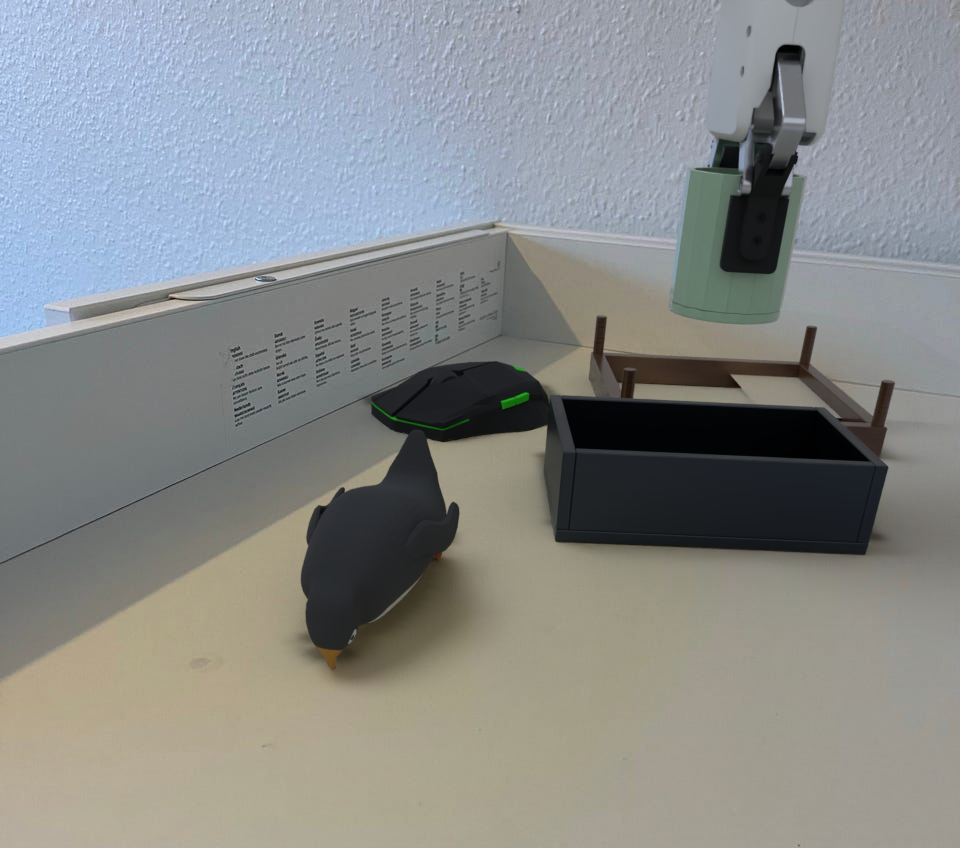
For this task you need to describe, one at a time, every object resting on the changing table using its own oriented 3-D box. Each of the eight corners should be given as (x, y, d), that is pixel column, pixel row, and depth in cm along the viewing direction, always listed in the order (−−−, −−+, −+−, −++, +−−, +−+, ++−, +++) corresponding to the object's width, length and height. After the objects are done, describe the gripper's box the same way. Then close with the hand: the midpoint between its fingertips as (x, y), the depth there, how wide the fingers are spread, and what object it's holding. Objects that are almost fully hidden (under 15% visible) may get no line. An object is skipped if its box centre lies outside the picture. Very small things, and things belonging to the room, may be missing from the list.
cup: (763, 305, 65) (788, 171, 61) (792, 327, 59) (821, 179, 55) (660, 299, 65) (678, 165, 61) (678, 321, 59) (700, 173, 55)
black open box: (807, 484, 73) (824, 407, 70) (866, 555, 62) (889, 466, 59) (543, 472, 72) (549, 394, 70) (554, 541, 61) (563, 451, 59)
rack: (803, 387, 98) (816, 325, 95) (880, 458, 79) (899, 383, 76) (588, 377, 97) (594, 314, 94) (614, 446, 79) (623, 370, 76)
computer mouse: (587, 415, 86) (591, 369, 84) (445, 450, 76) (447, 399, 74) (496, 386, 93) (498, 342, 91) (355, 415, 83) (354, 367, 81)
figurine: (354, 585, 60) (249, 664, 46) (362, 420, 57) (252, 451, 43) (471, 603, 59) (399, 690, 45) (487, 434, 56) (414, 472, 42)
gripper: (928, -126, 44) (837, 290, 53) (814, -71, 59) (758, 245, 68) (761, -136, 44) (698, 283, 53) (689, -79, 59) (650, 240, 68)
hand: (732, 259), depth 60 cm, fingers closed on cup, 6 cm apart
